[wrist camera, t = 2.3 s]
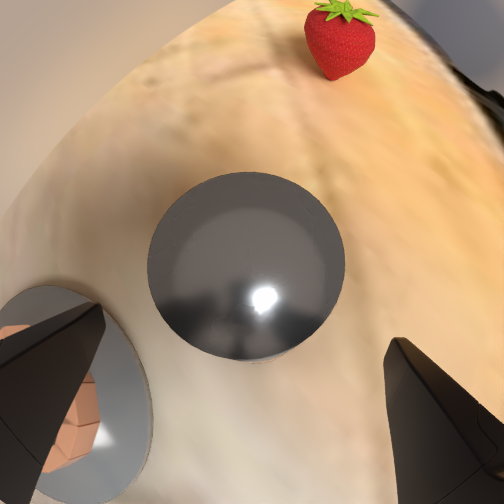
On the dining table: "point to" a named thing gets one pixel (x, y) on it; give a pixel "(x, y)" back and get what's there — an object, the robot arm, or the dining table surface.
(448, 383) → the robot arm
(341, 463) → the dining table surface
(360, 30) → the strawberry
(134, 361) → the slate seat plate
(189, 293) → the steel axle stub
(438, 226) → the dining table surface
